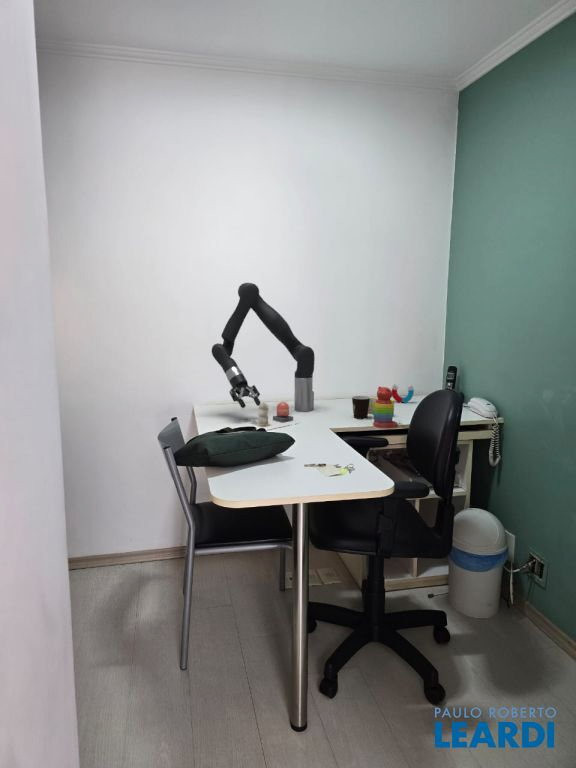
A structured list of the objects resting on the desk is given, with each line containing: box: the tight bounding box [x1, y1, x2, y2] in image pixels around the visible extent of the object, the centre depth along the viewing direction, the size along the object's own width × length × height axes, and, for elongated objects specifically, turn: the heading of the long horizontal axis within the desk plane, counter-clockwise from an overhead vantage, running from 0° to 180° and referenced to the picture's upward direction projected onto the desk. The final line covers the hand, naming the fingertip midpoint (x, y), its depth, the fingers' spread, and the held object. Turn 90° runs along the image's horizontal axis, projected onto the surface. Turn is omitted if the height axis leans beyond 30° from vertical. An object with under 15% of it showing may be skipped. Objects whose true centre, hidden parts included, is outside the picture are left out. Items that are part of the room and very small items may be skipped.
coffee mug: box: [351, 395, 370, 420], centre depth 271 cm, size 12×9×10 cm
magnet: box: [391, 383, 415, 404], centre depth 306 cm, size 12×3×10 cm, turn 74°
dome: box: [276, 401, 290, 416], centre depth 260 cm, size 6×6×6 cm
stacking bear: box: [372, 386, 399, 429], centre depth 254 cm, size 11×10×18 cm
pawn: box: [256, 402, 271, 427], centre depth 251 cm, size 6×6×10 cm
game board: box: [238, 414, 299, 432], centre depth 258 cm, size 26×22×3 cm
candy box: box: [368, 396, 395, 417], centre depth 277 cm, size 16×2×8 cm, turn 54°
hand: (251, 405), depth 257 cm, fingers open, 8 cm apart
